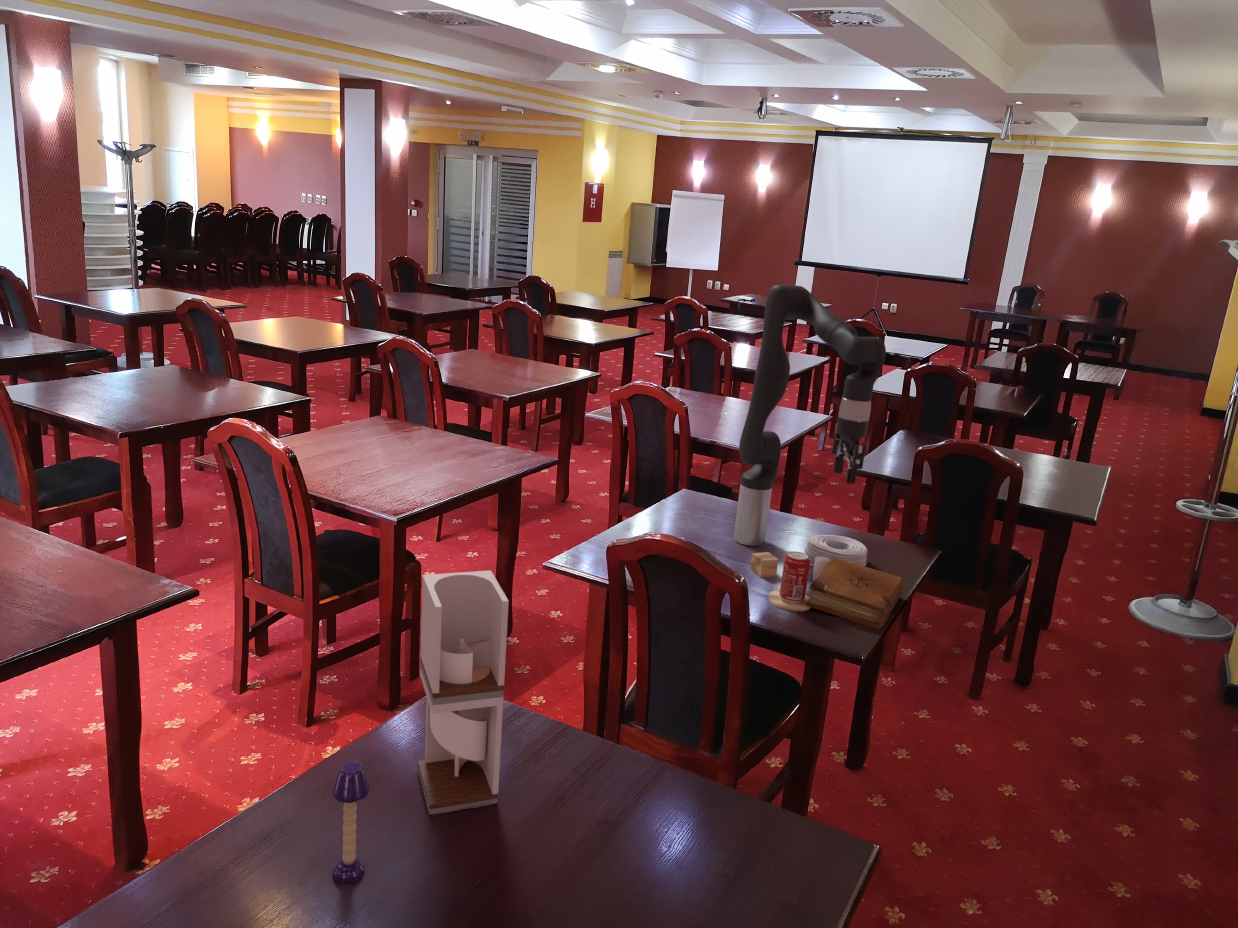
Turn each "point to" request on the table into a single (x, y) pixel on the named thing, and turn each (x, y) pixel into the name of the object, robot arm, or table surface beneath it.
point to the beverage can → (794, 577)
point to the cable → (836, 549)
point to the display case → (462, 687)
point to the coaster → (780, 603)
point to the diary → (856, 593)
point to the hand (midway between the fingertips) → (843, 478)
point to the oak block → (764, 564)
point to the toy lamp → (350, 819)
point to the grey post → (819, 566)
